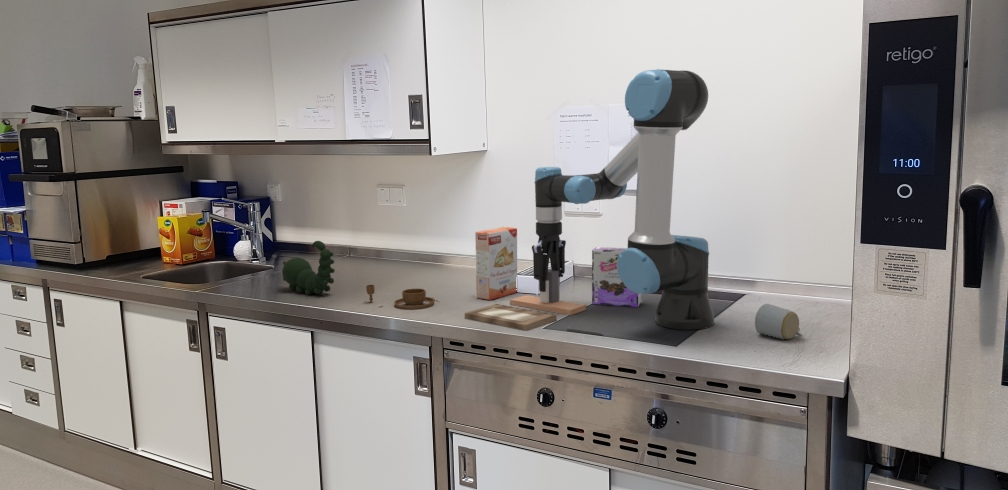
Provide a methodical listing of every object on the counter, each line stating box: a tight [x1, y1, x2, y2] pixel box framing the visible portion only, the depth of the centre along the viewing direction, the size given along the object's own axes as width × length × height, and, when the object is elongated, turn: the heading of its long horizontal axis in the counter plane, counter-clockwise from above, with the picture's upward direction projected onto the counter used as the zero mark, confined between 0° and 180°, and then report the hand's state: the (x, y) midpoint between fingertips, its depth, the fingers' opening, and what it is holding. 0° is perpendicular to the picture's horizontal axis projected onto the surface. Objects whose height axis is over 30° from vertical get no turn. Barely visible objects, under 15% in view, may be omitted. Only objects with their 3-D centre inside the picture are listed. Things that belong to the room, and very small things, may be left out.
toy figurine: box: [281, 240, 336, 296], centre depth 248 cm, size 9×19×25 cm
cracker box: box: [475, 226, 518, 301], centre depth 236 cm, size 14×6×21 cm, turn 141°
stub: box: [509, 269, 587, 316], centre depth 220 cm, size 22×7×10 cm, turn 49°
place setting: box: [365, 284, 441, 310], centre depth 231 cm, size 18×20×6 cm
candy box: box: [591, 246, 643, 308], centre depth 222 cm, size 14×6×16 cm, turn 68°
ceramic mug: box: [754, 303, 801, 340], centre depth 186 cm, size 11×8×8 cm
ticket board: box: [464, 303, 557, 331], centre depth 209 cm, size 22×13×2 cm, turn 49°
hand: (549, 300), depth 222 cm, fingers closed on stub, 4 cm apart
